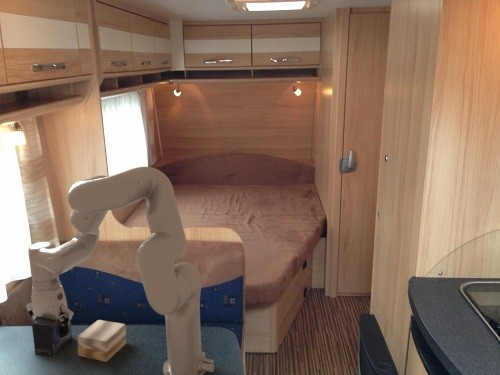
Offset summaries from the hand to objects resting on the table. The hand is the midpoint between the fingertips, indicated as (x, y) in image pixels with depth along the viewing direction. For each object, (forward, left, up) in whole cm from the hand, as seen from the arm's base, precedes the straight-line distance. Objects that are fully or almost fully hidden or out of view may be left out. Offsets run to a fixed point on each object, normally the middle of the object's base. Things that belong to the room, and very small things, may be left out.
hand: (52, 332), depth 137 cm
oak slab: (-16, -3, -5) cm, 17 cm away
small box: (0, 0, -5) cm, 5 cm away
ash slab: (-16, -3, -2) cm, 17 cm away
